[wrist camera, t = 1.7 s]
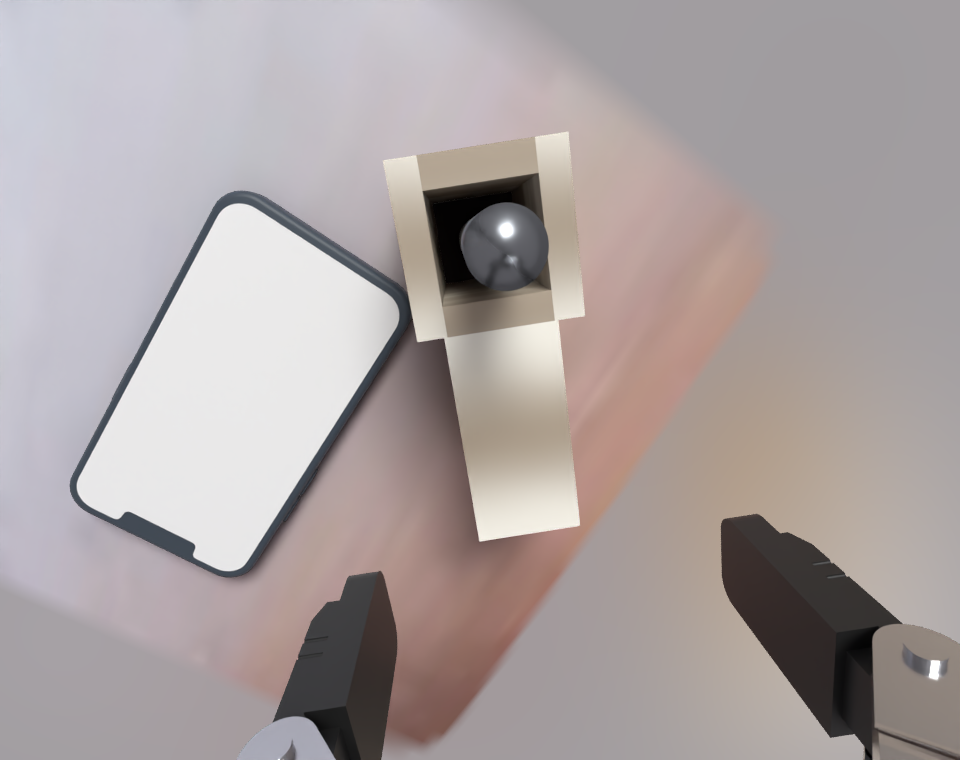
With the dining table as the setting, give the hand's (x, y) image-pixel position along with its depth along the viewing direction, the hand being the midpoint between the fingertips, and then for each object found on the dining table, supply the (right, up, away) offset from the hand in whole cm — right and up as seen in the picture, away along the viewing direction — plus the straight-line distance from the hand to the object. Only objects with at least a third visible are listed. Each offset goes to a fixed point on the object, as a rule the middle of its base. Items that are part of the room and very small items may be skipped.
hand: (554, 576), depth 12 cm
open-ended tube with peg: (-1, +7, +10) cm, 12 cm away
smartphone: (-12, +4, +11) cm, 17 cm away
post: (-2, +10, +9) cm, 14 cm away
